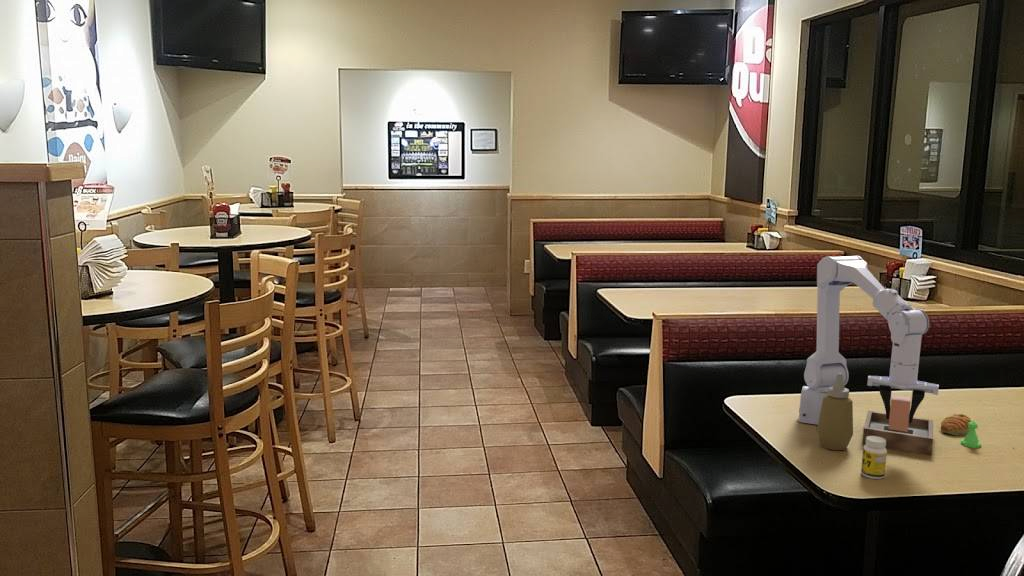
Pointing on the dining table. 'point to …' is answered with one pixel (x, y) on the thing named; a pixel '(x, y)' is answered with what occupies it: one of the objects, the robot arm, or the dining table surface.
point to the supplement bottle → (874, 457)
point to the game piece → (971, 436)
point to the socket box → (901, 433)
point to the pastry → (956, 424)
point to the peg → (899, 413)
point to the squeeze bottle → (836, 417)
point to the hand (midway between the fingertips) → (898, 419)
